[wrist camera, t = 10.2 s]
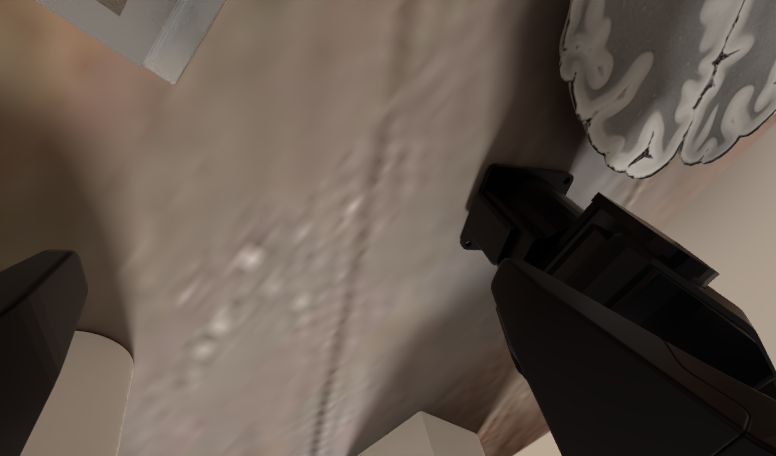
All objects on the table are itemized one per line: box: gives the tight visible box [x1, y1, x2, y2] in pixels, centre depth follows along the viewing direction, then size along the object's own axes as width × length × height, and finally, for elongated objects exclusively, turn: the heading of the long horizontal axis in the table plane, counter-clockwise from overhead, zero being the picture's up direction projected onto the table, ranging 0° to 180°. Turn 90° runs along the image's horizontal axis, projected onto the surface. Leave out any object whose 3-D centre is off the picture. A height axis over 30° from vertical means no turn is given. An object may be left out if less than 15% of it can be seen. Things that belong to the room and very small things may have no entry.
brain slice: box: [559, 0, 776, 179], centre depth 20 cm, size 20×17×3 cm
